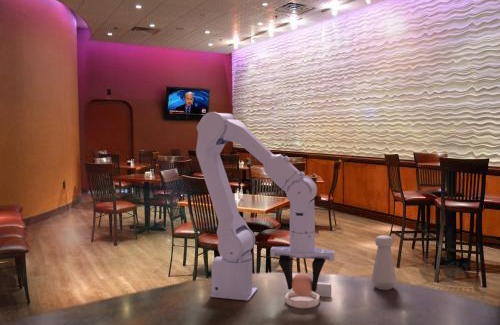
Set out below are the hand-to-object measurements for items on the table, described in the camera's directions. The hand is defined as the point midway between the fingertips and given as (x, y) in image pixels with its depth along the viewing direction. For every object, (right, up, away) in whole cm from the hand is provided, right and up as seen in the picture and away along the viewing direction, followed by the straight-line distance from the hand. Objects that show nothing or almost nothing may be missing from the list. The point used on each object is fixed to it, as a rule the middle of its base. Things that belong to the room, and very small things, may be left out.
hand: (302, 289), depth 106 cm
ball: (0, -2, 0) cm, 2 cm away
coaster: (0, -3, 0) cm, 3 cm away
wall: (+3, -3, +5) cm, 6 cm away
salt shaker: (+21, -2, +10) cm, 24 cm away
